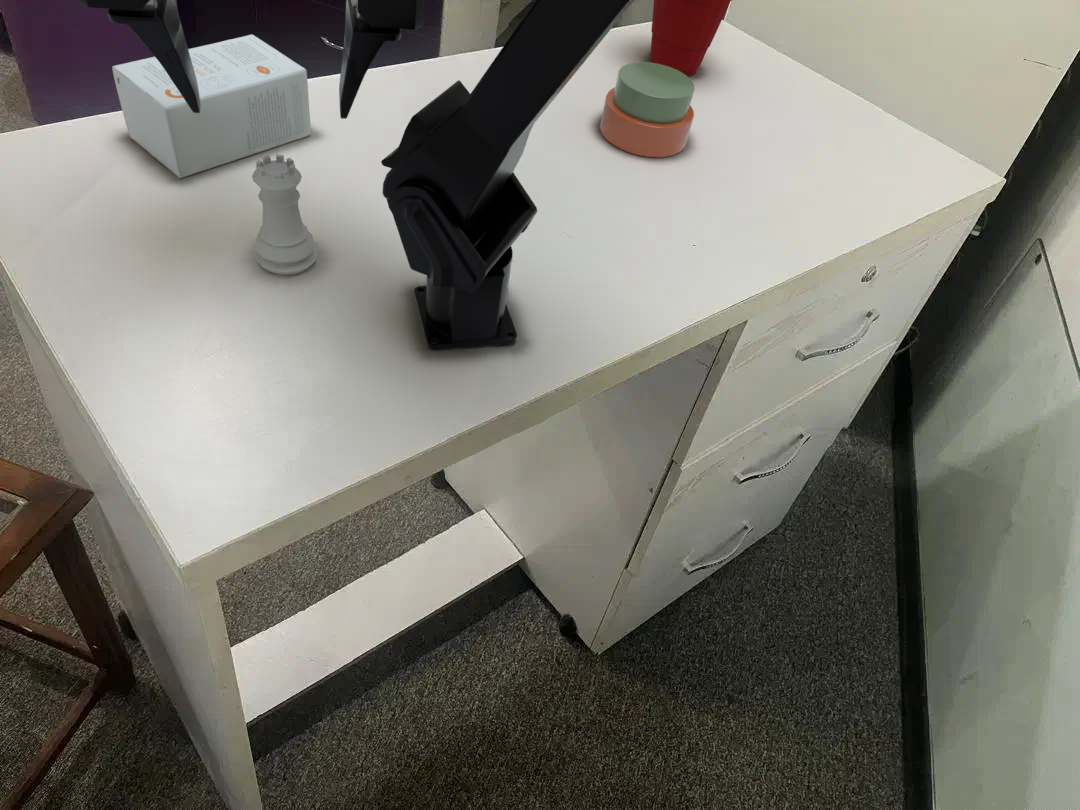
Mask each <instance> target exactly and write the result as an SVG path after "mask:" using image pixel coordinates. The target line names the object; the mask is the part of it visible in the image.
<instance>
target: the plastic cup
mask: <svg viewBox="0 0 1080 810" xmlns="http://www.w3.org/2000/svg"><path fill="white" fill-rule="evenodd" d="M732 1H733V0H653V8H652V18H651V41H650V51H649V57H650V63H656V64H661V65H665V66H668V67H671V68H674V69H676V70H678V71H680V72H682V73H683V74H685V75H686V76H688V77H690V76H691V77H692V76H693V75H696V74H697V71H698V69H700V67H701V64H702V63H703V60H704V58H705V55H706V53H707V51H708V49H709V48H710V47H711V45H712V42H713V40H714V38H715V36H716V34H717V32H718V29H719V27H720V25H721V23H722V21H723V19H724V16H725V14H726V12H727V10H728V7H730V3H731V2H732Z"/></svg>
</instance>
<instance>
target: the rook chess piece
mask: <svg viewBox="0 0 1080 810" xmlns="http://www.w3.org/2000/svg"><path fill="white" fill-rule="evenodd" d="M284 156H285V155H284V154H278V153H276V154H275V159H274V160H272V159H271V156H270V154H267V155H263V156H261V158H262V160H260V159H257V160H256V163H255V166H256V168H255V170H254V171H253V173H252V175H251V178H252V182H254V183H255V185H257V187H259V188H260V191H259V192H258V195H257V197H258V200H259V201H260V202H261V204H262V224H261V226H260V228H259V230H258V233H257V235H256V237H255V239H254V248H255V253H254V256H255V259H256V262H257V263H258V264H259V265H260V266H261V267H262V268H264V269H265V270H266V271H268V272H270V273H273V274H275V275H282V276H289V275H296V274H299V273H300V274H301V273H302V272H304V271H306V270H308V269H309V268H310V267H311V266H312V265H313V264H314V263H315V262H316V259H317V256H318V252H317V249H316V242H315V239H314V236H313V234H312V233H311V232H310V231H309V229H308V227H307V226H306V224H304V222H303V219H302V216H301V213H300V212H301V211H300V208H299V201H300V198H301V194H300V191H299V190H297V187H298V186H299V184H300V183H301V181H302V179H303V176H302V172H301V171H300V170H299V169H298V168H296V164H295V161H294V160H293V159H292V158H291V157H287V158H286V159H285V157H284ZM285 160H286V161H285Z"/></svg>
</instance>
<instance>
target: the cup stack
mask: <svg viewBox="0 0 1080 810" xmlns="http://www.w3.org/2000/svg"><path fill="white" fill-rule="evenodd" d="M614 86H615V87H612V88H611V89H609V91H608V92H607V93H606V95H605V98H604V105H603V110H602V113H601V117H600V124H599V129H600V133H601V135H602V136H603V138H604V139H605V140H606V141H607V142H609V144H611V145H612V146H614V147H616V148H617V149H620V150H622V151H624V152H627V153H628V154H629V153H630V154H633V155H636V156H641V157H646V158H667V157H671V156H675V155H677V154H679V153H681V152H682V151H683V150H684V148H686V145H687V141H688V138H689V134H690V131H691V128H692V124H693V121H694V118H695V112H694V109H693V107H692V105H691V103H692V99H693V96H694V93H695V90H696V89H695V88H696V87H695V84H694V81H692V79H691V78H690V76H686V75H685V74H683V73H682V72H680V71H678V70H676V69H674V68H671V67H668V66H665V65H661V64H656V63H651V62H649V61H635V62H631V63H627V64H625V65H623V66H621V67H620V69H619V70H618V73H617V77H616V82H615V85H614Z"/></svg>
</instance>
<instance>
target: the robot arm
mask: <svg viewBox="0 0 1080 810" xmlns="http://www.w3.org/2000/svg"><path fill="white" fill-rule="evenodd" d="M634 2H635V0H534V2H533V4H532V5H531V7H530V8H529V9H528V11H527V12H526V14H525V15H524V17H523V18H522V19H521V21H520V22H519V23H518V25H517V26H516V28H515V30H514V31H513V32H512V33H511V35H510V36H509V38H508V39H507V41H506V42H505V44H504V45H503V46H502V48H501V49H500V50H499V52H498V53H497V55H496V56H495V58H494V59H493V61H492V62H491V64H490V65H489V66H488V68H487V69H486V71H485V72H484V73H483V75H482V76H481V78H480V79H479V80H478V82H477V83H476V85H475V86H474V88H473V90H472V91H471V92H470V91H469V90H468V89H467V88H466V86H465V85H464V84H463V82H462V81H461V80H460V79H458V80H457V81H455V82H454V83H453V84H451V85H450V86H449V87H448V88H447V89H445V90H444V91H443V92H441V93H440V94H439V95H437V96H436V97H435V98H434V99H433V100H431V101H430V102H429V103H428V104H426V105H425V106H423V107H422V108H421V109H420V110H419V111H417V112H416V113H415V114H413V115H412V116H411V118H410V120H409V121H408V124H407V125H406V127H405V129H404V131H403V135H402V137H401V140H400V143H399V145H398V147H396V148H395V149H394V150H393V151H391V152H390V153H389V154H388V155H386V156H385V157H384V158H383V159H382V160H380V161H381V162H380V163H381V166H383V167H387V168H388V169H390V170H388V172H387V173H386V175H385V177H384V179H383V183H382V192H381V194H382V196H383V197H384V198H385V199H386V202H387V206H388V209H389V211H390V212H391V214H392V218H393V220H394V223H395V226H396V230H397V233H398V235H399V239H400V241H401V244H402V247H403V250H404V253H405V256H406V259H407V262H408V265H409V268H410V269H411V270H412V271H414V272H417V273H419V274H422V275H424V276H426V282H425V283H426V285H418V286H416V287H414V289H413V296H414V300H415V304H416V309H417V312H418V316H419V321H420V324H421V329H422V332H423V337H424V340H425V345H426V347H427V349H429V350H431V351H432V350H433V351H438V350H450V349H463V348H476V347H487V346H498V345H499V346H500V345H501V346H502V345H510V344H511V345H513V344H515V343H517V340H518V333H517V330H516V327H515V324H514V322H513V318H512V315H511V313H510V311H509V308H508V305H507V297H508V290H509V283H510V277H511V268H512V263H513V262H512V261H513V246H512V245H513V244H514V243H515V242H516V240H517V239H518V238H519V237H520V235H521V234H523V233H524V232H526V230H527V229H528V227H529V226H530V224H531V222H532V221H533V220H534V218H535V216H536V215H537V213H538V207H537V205H536V204H535V203H534V201H533V199H532V198H531V197H530V195H529V194H528V192H527V190H526V189H525V188H524V186H523V185H522V183H521V182H520V180H519V178H517V176H516V174H515V172H514V171H515V169H516V168H517V166H518V164H519V162H520V160H521V158H522V156H523V155H524V152H525V148H526V146H527V143H528V139H529V136H530V133H531V131H532V129H533V127H534V125H535V124H536V122H537V121H538V120H539V118H540V117H541V116H542V115H543V113H544V112H545V111H546V110H547V109H548V107H549V106H550V105H551V104H552V102H553V101H554V100H555V99H556V98H557V96H558V95H559V94H560V92H561V91H562V90H563V89H564V88H565V86H566V85H567V84H568V83H569V81H570V80H571V79H572V78H573V76H574V75H576V73H577V72H578V70H579V69H580V68H581V67H582V65H583V64H584V63H585V62H586V60H588V58H589V57H590V56H591V55H592V53H593V52H594V51H595V49H596V48H597V47H598V46H599V45H600V44H601V42H602V41H603V40H604V38H605V37H606V36H607V35H608V34H609V32H610V31H611V30H612V29H613V27H614V26H615V25H616V24H617V22H618V21H619V20H620V19H621V17H622V16H623V15H624V14H625V13H626V12H627V10H628V9H629V7H630V6H631V5H632V4H633V3H634ZM77 3H79V4H81V5H83V6H84V7H86V8H91V9H92V8H93V9H106V12H107V16H108V20H109V21H110V22H111V23H113V24H115V25H116V24H117V25H125V26H128V27H129V28H130V29H131V30H132V32H133V33H134V34H135V35H136V37H137V38H138V39H139V40H140V41H141V42H142V43H143V44H144V46H145V47H146V48H147V49H148V51H150V53H151V54H152V55H153V57H156V59H157V60H158V61H159V62H160V64H161V65H162V67H163V68H164V69H165V71H166V72H167V74H168V75H169V77H170V78H171V80H172V81H173V83H174V84H175V86H176V87H177V89H178V90H179V92H180V93H181V95H182V96H183V98H184V99H185V101H186V102H187V104H188V105H189V107H190V109H191V110H192V111H193V113H200V108H201V104H200V97H199V90H198V83H197V79H196V75H195V72H194V68H193V65H192V61H191V58H190V54H189V50H188V49H189V47H188V44H187V43H188V42H187V40H186V36H185V33H184V29H183V27H182V23H181V18H180V15H179V9H178V3H177V0H77ZM424 13H425V0H345V18H344V19H345V22H344V34H343V44H342V45H343V46H342V53H341V54H342V56H341V64H340V74H339V75H340V76H339V87H338V95H339V97H338V98H339V100H338V101H339V117H340V119H347V118H348V116H349V114H350V111H351V109H352V106H353V104H354V102H355V99H356V97H357V95H358V92H359V90H360V87H361V85H362V83H363V81H364V78H365V76H366V74H367V72H368V70H369V68H370V67H371V65H372V64H373V62H374V60H376V57H377V56H378V53H380V50H381V49H382V47H383V46H384V44H385V43H387V42H393V43H394V42H395V43H396V42H398V41H400V40H401V38H402V30H411V31H412V30H413V31H415V30H418V29H420V28H422V27H424Z"/></svg>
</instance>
